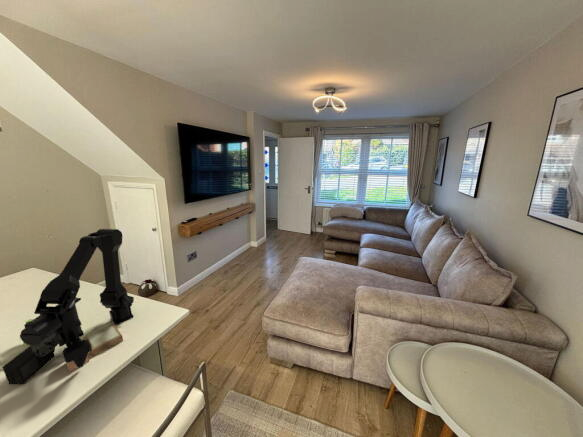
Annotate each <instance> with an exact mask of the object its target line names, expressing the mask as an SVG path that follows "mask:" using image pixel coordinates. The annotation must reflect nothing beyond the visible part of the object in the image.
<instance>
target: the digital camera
mask: <svg viewBox="0 0 583 437" xmlns="http://www.w3.org/2000/svg"><path fill="white" fill-rule="evenodd" d="M55 351H56V347H55V348H54V350H53V351H51V352H50V353H48V354H47V355H45V356H43V357H40V356H37V355H36V353H34V352H33V351H32V348H31V345H28V347H27V348H25V349H24V350H22V352H20V353H19V354H17V355H16V356H15V357H13V358H12V359H11V360H9V361H8V362H7V363H5V364H4V365H3V366H2V370H3V372H4V375H5V378H6V381H7V382H8V385H18V386H19V385H24V384H25V383H27V382H28V381H29V380H30V379H32V377H33V376H35V375H36V374H37V373H38V372H39V371H40V370H42V369H43V368H44V367H45V366H47V365H48V364H49V363H50V362H51V361H52V360H53V359H54V358H55V357H56V355H55Z"/></svg>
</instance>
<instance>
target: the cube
mask: <svg viewBox="0 0 583 437" xmlns="http://www.w3.org/2000/svg"><path fill="white" fill-rule="evenodd" d="M88 362H90V358H89V354H88V355H87V358H86V360H85V363H84V365H85V364H87V363H88ZM65 364H66V366H67V368H68V371H69V372H72V371H73V370H76V369H77V368H78V367H77V365H76V364H75V363H74V361H71V362H68V363H66V362H65Z"/></svg>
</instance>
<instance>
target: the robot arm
mask: <svg viewBox="0 0 583 437" xmlns="http://www.w3.org/2000/svg"><path fill="white" fill-rule="evenodd" d="M122 245H123V232H122V231H121V230H120V229H117V228H116V229H115V228H99V229H98V230H96V231H94V232H90V233H88V234H87V235H85V236H82V237H80V239H79V241H78V245H77V247H76V249H74V252H73V253H72V255H71V256H70V258H69V260H68V262H66V265H65V266H64V268H63V269H62V270H61V273H59V275H57V276H56V277H55V278H53V279H52V280H49V282H48V284H46V286H44V288H43V289H42V291H41V293H40V296H39V299H38V302H37V305H36V308H35V310H34V315H38V316H37V317H35V318H34V319H33V320H32V321H29V322H28V323H26V322H25V324H24V325H23V327H24V328H23V329H22V330H21V331H20V333H19V334H20V335H19V338H20V340H21V341H22V343H23V342H24V343H26V344H28V345H27V346H31V348H32V351H33V352H34V353H36V355H37V356H40V357H43V356H45V355H47V354H48V353H50V352H51V351H53V350H54V348H55V349H56V347H57V346H58V347H62V346H66V347H64V349H63V350H62V352H61V353H62V356H63V358H64V361H65V364H66V363H68V362H71V361H74V363H75V364H76V365H77V368H78V369H81V368H83V367H84V365H85V364H86V363H85V360H86V358H87V355H88V356H89V353H91V351H92V347H91V344H90V342H89V341H88V340H85V338H84V339H81V337H83V336H85V333H84V331H83V329H82V326H81V325H82V321H81V319H80V317H79V313H78V310H77V306H76V304H77V303H78V302H80V301H81V300H82V298H81V297H77V295H78V293H79V289H80V288H81V283H80V278H81V276H82V275H83V273H84V271H85V270H86V268H87V266H88V264H89V262H90V261H91V259H92V257H93V255H95V252H96V250H97V249H98V250H99V251H100V252H101V255H102V263H103V264H102V265H103V273H104V281H105V282H104V283H105V287H104V289H103V291H102V292H100V293H99V297H100V300H99V302H100V303H101V305H102V306H104V308H105V309H110V311H109V317H110V321H112V323H114V325H119V324H121V323H124V322H126V321H128V320H130V319H133V318H134V314H133V313H132V312H133V311H132V306H133V304H134V299H135V298H134V296H130V295H128V291H127V288H126V287H125V286H124V285H123V284H122V279H121V278H122V277H121V269H120V259H119V258H120V257H119V249H120V248H121V246H122ZM48 305H55V306H48ZM84 363H85V364H84Z"/></svg>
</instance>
